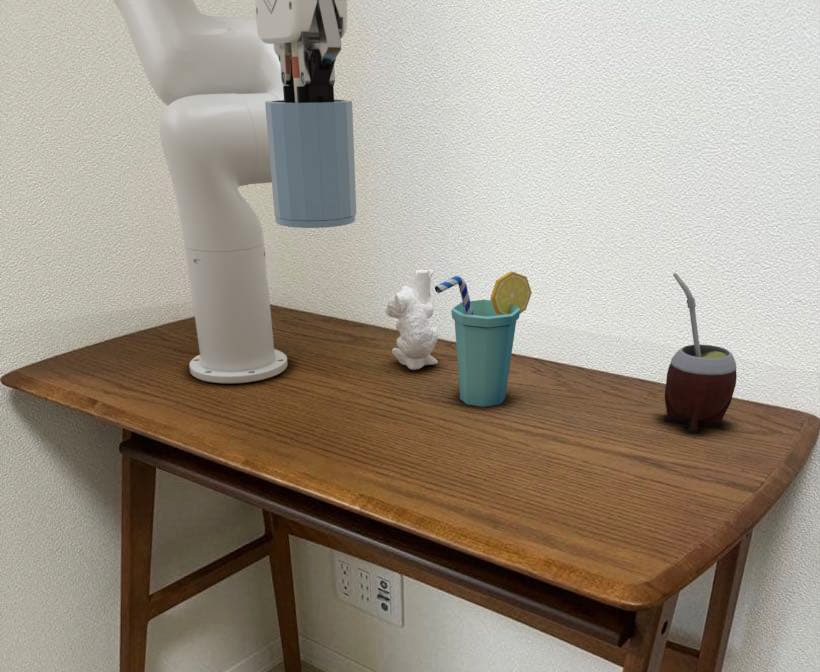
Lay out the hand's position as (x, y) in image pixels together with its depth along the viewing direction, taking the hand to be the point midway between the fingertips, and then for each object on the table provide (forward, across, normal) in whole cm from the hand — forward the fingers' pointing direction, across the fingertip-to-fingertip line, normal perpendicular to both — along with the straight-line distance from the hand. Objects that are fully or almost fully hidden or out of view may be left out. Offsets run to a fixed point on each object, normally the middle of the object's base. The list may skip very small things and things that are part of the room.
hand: (310, 134), depth 74 cm
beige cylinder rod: (+7, 0, 0) cm, 7 cm away
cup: (+29, -1, +19) cm, 35 cm away
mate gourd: (+29, +16, +36) cm, 49 cm away
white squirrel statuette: (+29, -16, +19) cm, 38 cm away
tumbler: (+7, 0, 0) cm, 7 cm away
